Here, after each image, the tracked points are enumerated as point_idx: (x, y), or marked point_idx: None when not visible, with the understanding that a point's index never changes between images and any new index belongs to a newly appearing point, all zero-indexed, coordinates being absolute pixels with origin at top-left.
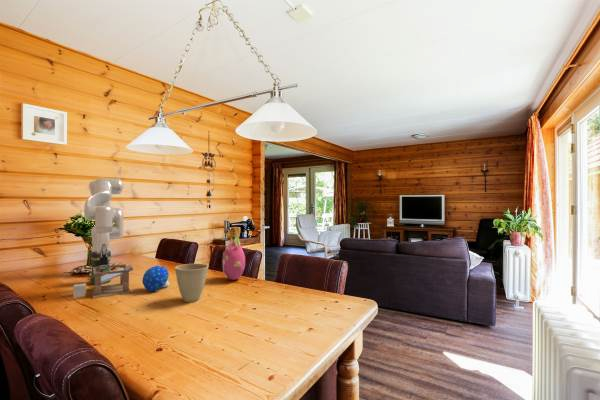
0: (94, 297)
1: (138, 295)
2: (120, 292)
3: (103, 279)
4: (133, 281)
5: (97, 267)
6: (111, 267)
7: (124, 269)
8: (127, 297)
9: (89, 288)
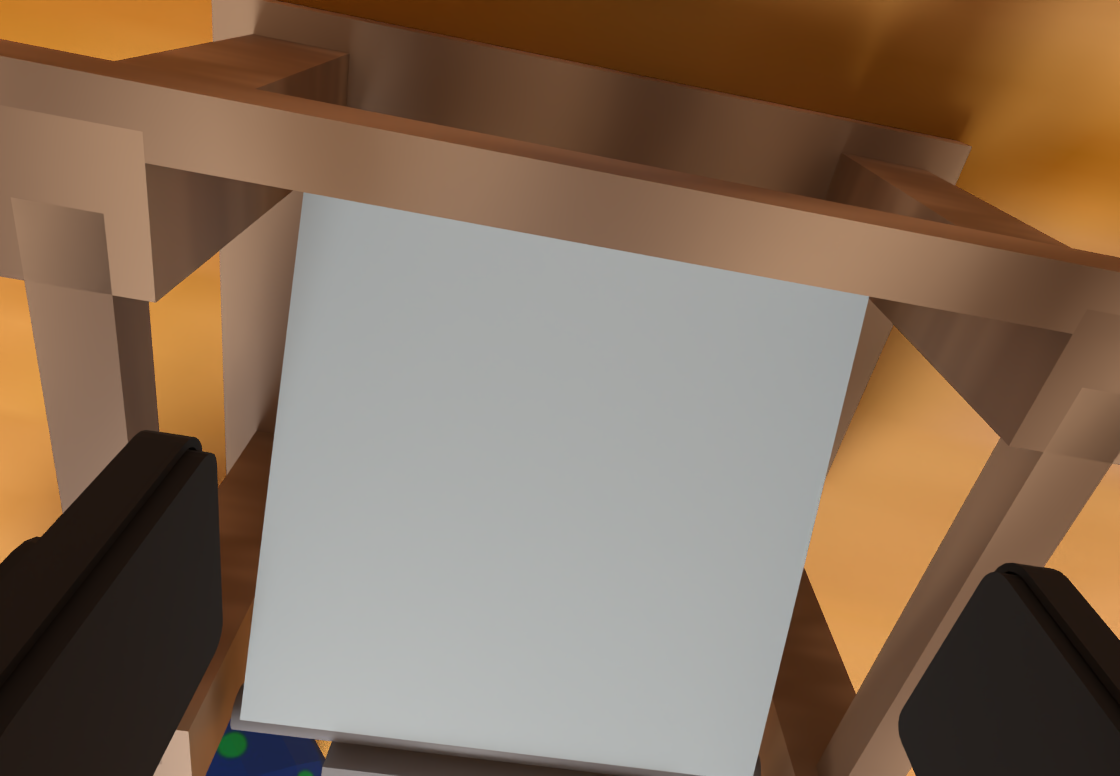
0: (219, 15)
1: (51, 520)
2: (246, 396)
3: (412, 299)
4: (846, 653)
5: (1071, 388)
6: (892, 641)
7: (483, 753)
8: (13, 405)
9: (1023, 98)
